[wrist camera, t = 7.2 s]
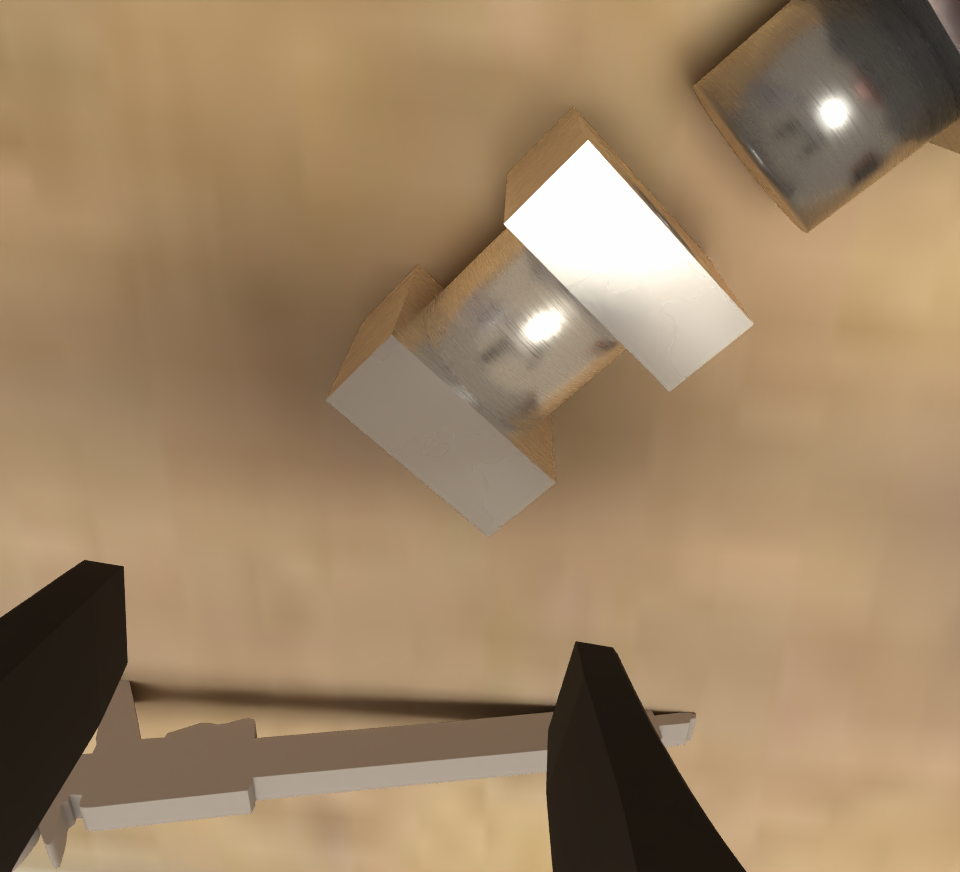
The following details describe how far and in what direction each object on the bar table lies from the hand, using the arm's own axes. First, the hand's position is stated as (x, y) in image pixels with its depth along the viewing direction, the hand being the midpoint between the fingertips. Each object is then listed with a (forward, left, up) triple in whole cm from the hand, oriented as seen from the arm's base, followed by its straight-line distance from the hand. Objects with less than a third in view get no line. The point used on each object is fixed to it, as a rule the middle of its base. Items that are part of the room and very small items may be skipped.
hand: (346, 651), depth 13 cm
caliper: (+7, -9, -10) cm, 15 cm away
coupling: (0, +4, -9) cm, 10 cm away
